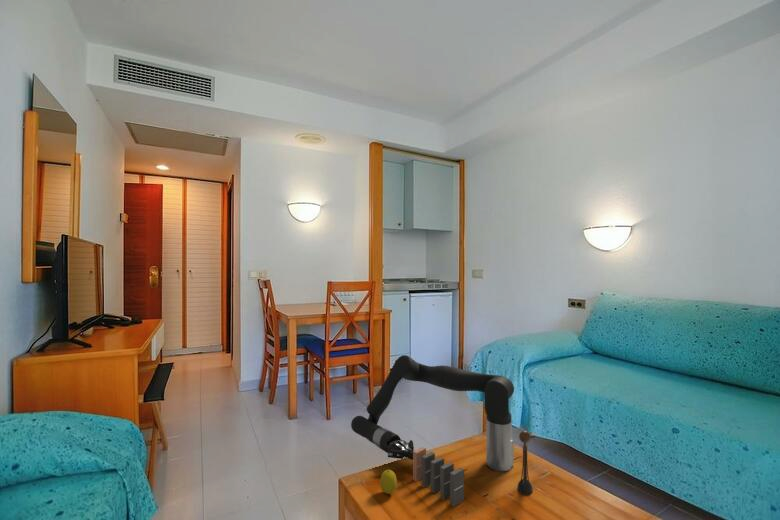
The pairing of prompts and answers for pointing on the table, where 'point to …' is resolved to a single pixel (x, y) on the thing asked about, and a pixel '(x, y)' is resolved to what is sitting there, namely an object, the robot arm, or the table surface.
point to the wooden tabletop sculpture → (525, 465)
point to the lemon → (388, 481)
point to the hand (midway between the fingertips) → (416, 457)
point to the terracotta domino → (418, 463)
